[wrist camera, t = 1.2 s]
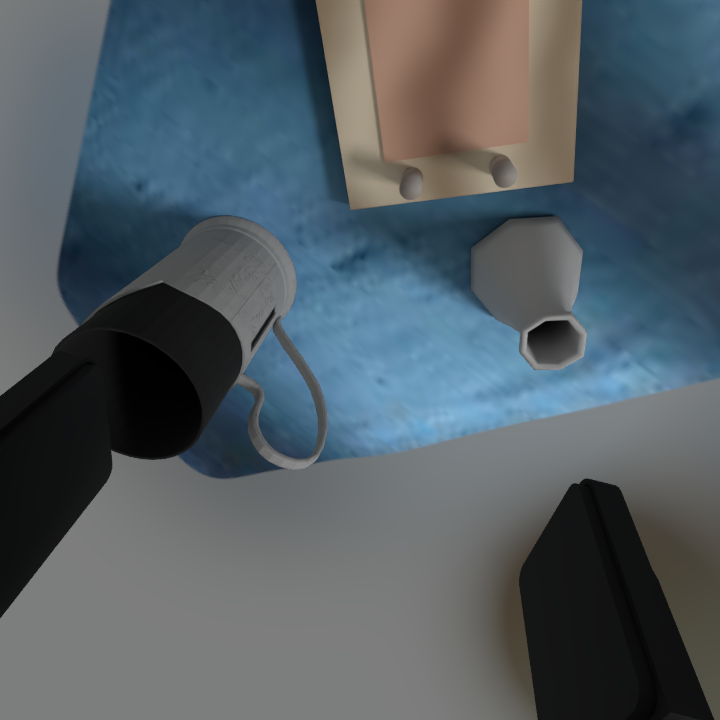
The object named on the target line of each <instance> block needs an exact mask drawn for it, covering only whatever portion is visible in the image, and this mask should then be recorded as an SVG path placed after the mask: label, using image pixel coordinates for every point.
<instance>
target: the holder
mask: <svg viewBox="0 0 720 720" xmlns="http://www.w3.org/2000/svg"><path fill="white" fill-rule="evenodd" d="M296 286H297V281H296V273H295V269H294V266H293V262H292V260H291V258H290V256H289V254H288V252H287V251H286V249H285V248H284V246H283V245H282V244H281V242H280V241H279V240H278V239H277V238H276V237H275V236H274V235H273V234H272V233H270V232H269V231H268V230H266V229H265V228H264V227H262V226H260V225H258V224H257V223H255V222H253V221H250V220H247V219H244V218H240V217H235V216H218V217H213V218H209V219H207V220H204V221H202V222H200V223H199V224H197V225H196V226H194V227H193V228H192V229H191V230H190V231H189V232H188V233H187V234H186V236H185V238H184V239H183V241H182V243H181V245H180V247H178V248H177V249H176V250H174V251H173V252H172V253H170V254H169V255H167V256H166V257H165V258H163V259H162V260H161V261H159V262H158V263H157V264H155V265H154V266H153V267H151V268H150V269H149V270H147V271H146V272H145V273H143V274H142V275H141V276H139V277H138V278H137V279H135V280H134V281H133V282H131V283H130V284H129V285H127V286H126V287H125V288H123V289H122V290H121V291H119V292H118V293H117V294H115V295H114V296H113V297H111V298H110V299H109V300H107V301H106V302H105V303H103V304H102V305H101V306H99V307H98V308H97V309H95V310H94V311H93V312H92V313H91V314H90V316H89V317H88V318H87V319H86V320H85V321H84V322H83V323H82V324H81V325H80V326H79V327H78V328H77V329H76V330H74V331H73V332H72V333H70V334H69V335H68V336H66V337H65V338H64V339H63V340H62V341H61V342H60V343H59V344H58V345H57V346H56V347H55V349H54V351H53V354H55V353H56V352H58V351H61V350H65V351H69V352H73V353H77V354H81V355H85V356H89V357H92V358H94V360H95V361H96V365H97V366H99V367H101V368H102V370H103V375H104V385H105V395H106V405H107V415H108V425H109V435H110V445H111V450H112V451H115V452H117V453H120V454H123V455H126V456H129V457H134V458H139V459H150V460H156V459H166V458H170V457H174V456H177V455H179V454H181V453H183V452H185V451H187V450H188V449H189V448H190V447H192V446H193V445H194V444H195V442H196V441H197V440H198V439H199V437H200V435H201V434H202V432H203V431H204V429H205V427H206V426H207V424H208V423H209V421H210V419H211V418H212V416H213V415H214V413H215V412H216V410H217V408H218V407H219V405H220V404H221V402H222V400H223V399H224V397H225V396H226V394H227V392H229V391H230V390H231V389H232V388H233V387H234V386H235V385H236V383H237V384H238V385H240V386H242V387H244V388H245V389H247V390H248V391H250V392H251V393H252V394H253V396H254V398H255V404H254V406H253V408H252V410H251V412H250V416H249V419H248V433H249V436H250V438H251V441H252V444H253V445H254V446H255V448H256V449H257V451H258V452H259V453H260V454H261V455H262V456H263V457H264V458H265V459H267V460H268V461H269V462H271V463H273V464H275V465H277V466H279V467H283V468H287V469H291V470H292V469H304V468H306V467H307V466H309V465H310V464H312V463H314V462H315V461H316V459H317V458H318V457H319V455H320V453H321V451H322V449H323V447H324V444H325V439H326V434H327V429H328V426H327V410H326V405H325V401H324V397H323V394H322V391H321V388H320V385H319V383H318V381H317V379H316V378H315V376H314V374H313V373H312V371H311V370H310V368H309V367H308V365H307V364H306V362H305V360H304V359H303V357H302V356H301V354H300V353H299V352H298V350H297V349H296V347H295V346H294V345H293V343H292V342H291V340H290V339H289V337H288V336H287V334H286V333H285V331H284V329H283V328H282V326H281V323H280V322H281V320H282V318H284V316H285V315H286V314H287V313H288V311H289V310H290V308H291V306H292V304H293V302H294V298H295V295H296ZM272 326H273V331H274V333H275V335H276V337H277V339H278V340H279V342H280V343H281V345H282V346H283V348H284V349H285V351H286V352H287V354H288V355H289V357H290V358H291V359H292V361H293V362H294V364H295V365H296V367H297V368H298V370H299V371H300V373H301V375H302V376H303V378H304V380H305V382H306V383H307V385H308V387H309V389H310V391H311V394H312V397H313V400H314V403H315V407H316V412H317V416H318V437H317V442H316V447H315V449H314V451H313V453H312V455H311V456H310V457H308V458H304V459H296V458H292V457H288V456H285V455H283V454H281V453H279V452H277V451H276V450H274V449H273V448H272V447H271V446H270V445H269V444H268V443H267V442H266V440H265V439H264V437H263V436H262V434H261V431H260V428H259V426H258V416H259V412H260V409H261V407H262V404H263V401H264V391H263V389H262V387H261V386H260V385H259V384H258V383H257V382H255V381H254V380H253V379H251V378H250V377H248V376H246V375H245V374H243V373H244V371H245V369H246V368H247V366H248V365H249V363H250V361H251V360H252V358H253V356H254V355H255V353H256V352H257V350H258V348H259V347H260V345H261V343H262V342H263V340H264V338H265V337H266V335H267V334H268V332H269V330H270V329H271V327H272ZM53 354H52V355H53ZM52 355H51V356H52Z"/></svg>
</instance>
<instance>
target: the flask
mask: <svg viewBox="0 0 720 720" xmlns="http://www.w3.org/2000/svg"><path fill="white" fill-rule="evenodd" d="M582 255H583V250H582V249H581V247H580V246H579V245H578V243H577V242H576V241H575V239H574V238H573V236H572V235H571V234H570V232H569V231H568V230H567V228H566V227H565V225H564V224H563V223H562V221H561V220H560V219H559V217H558V216H552V217H535V218H519V219H509V220H507V221H506V222H505V223H503V224H502V225H501V226H499V227H498V228H497V229H495V230H494V231H493V232H491V233H490V234H489V235H487V236H486V237H485V238H483V239H482V240H481V241H479V242H478V243H477V244H476V245H474V246H473V247H472V248H471V290H472V292H473V293H474V294H475V295H476V296H477V298H478V299H479V300H480V301H481V302H482V303H483V305H484V306H485V307H486V308H487V309H488V311H489V312H490V313H491V314H492V315H493V317H494V318H495V319H496V320H498V321H500V322H502V323H504V324H506V325H508V326H510V327H512V328H513V329H515V330H517V331H518V332H520V344H519V352H520V354H521V355H522V356H523V357H524V358H525V360H526V361H527V362H528V363H529V364H530V366H531V367H532V368H533V369H534V370H561V369H563V368H564V367H566V366H568V365H570V364H571V363H573V362H575V361H576V360H578V359H580V358H582V357H583V356H584V351H585V344H586V337H587V332H586V330H585V329H584V328H583V327H582V325H581V324H580V323H579V321H578V320H577V319H576V317H575V316H574V315H573V314H572V312H571V309H572V306H573V304H574V302H575V299H576V297H577V294H578V287H579V279H580V271H581V263H582Z"/></svg>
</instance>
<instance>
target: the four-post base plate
mask: <svg viewBox="0 0 720 720" xmlns="http://www.w3.org/2000/svg"><path fill="white" fill-rule="evenodd" d="M316 5H317V11H318V17H319V23H320V29H321V35H322V41H323V47H324V53H325V59H326V65H327V71H328V77H329V83H330V89H331V95H332V101H333V107H334V113H335V119H336V125H337V131H338V137H339V143H340V149H341V155H342V161H343V167H344V174H345V180H346V186H347V192H348V198H349V204H350V210H355V209H363V208H371V207H378V206H386V205H394V204H402V203H410V202H418V201H426V200H433V199H441V198H449V197H457V196H465V195H473V194H481V193H489V192H496V191H504V190H512V189H520V188H528V187H536V186H544V185H551V184H559V183H567V182H573V178H574V157H575V137H576V116H577V96H578V75H579V55H580V34H581V14H582V0H316Z"/></svg>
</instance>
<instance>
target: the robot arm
mask: <svg viewBox="0 0 720 720" xmlns="http://www.w3.org/2000/svg"><path fill="white" fill-rule="evenodd" d="M111 470H112V455H111V445H110V435H109V425H108V415H107V405H106V395H105V385H104V375H103V370H102V368H101V367H99V366H97V365H96V361H95V360H94V358H92V357H89V356H85V355H81V354H77V353H73V352H69V351H65V350H61V351H58V352H56V353H55V354H53V355H52V356H51V357H49V358H48V359H47V360H46V361H44V362H43V363H42V364H41V365H39V366H38V367H37V368H35V369H34V370H33V371H32V372H30V373H29V374H28V375H27V376H25V377H24V378H23V379H21V380H20V381H19V382H18V383H16V384H15V385H14V386H12V387H11V388H10V389H9V390H7V391H6V392H5V393H4V394H2V395H1V396H0V618H1V617H2V615H3V614H4V613H5V611H6V610H7V609H8V608H9V606H10V605H11V604H12V603H13V601H14V600H15V599H16V597H17V596H18V595H19V594H20V592H21V591H22V590H23V588H24V587H25V586H26V585H27V583H28V582H29V581H30V579H31V578H32V577H33V576H34V574H35V573H36V572H37V570H38V569H39V568H40V567H41V565H42V564H43V563H44V561H45V560H46V559H47V557H48V556H49V555H50V554H51V552H52V551H53V550H54V548H55V547H56V546H57V545H58V544H59V542H60V541H61V540H62V538H63V537H64V536H65V535H66V533H67V532H68V531H69V529H70V528H71V527H72V525H73V524H74V523H75V522H76V520H77V519H78V518H79V516H80V515H81V514H82V513H83V511H84V510H85V509H86V507H87V506H88V505H89V504H90V502H91V501H92V500H93V499H94V497H95V496H96V495H97V493H98V492H99V491H100V490H101V488H102V487H103V486H104V484H105V483H106V482H107V480H108V478H109V476H110V474H111ZM519 587H520V594H521V601H522V608H523V615H524V623H525V630H526V636H527V644H528V651H529V659H530V666H531V673H532V680H533V688H534V695H535V702H536V710H537V717H538V720H714V718H713V716H712V713H711V711H710V708H709V706H708V703H707V701H706V698H705V696H704V693H703V691H702V688H701V686H700V683H699V681H698V678H697V676H696V673H695V671H694V668H693V666H692V663H691V661H690V658H689V656H688V653H687V651H686V648H685V646H684V643H683V641H682V638H681V636H680V633H679V631H678V628H677V626H676V623H675V621H674V618H673V616H672V613H671V611H670V608H669V606H668V603H667V601H666V598H665V596H664V593H663V591H662V588H661V586H660V583H659V581H658V579H657V577H656V575H655V573H654V571H653V570H652V568H651V566H650V563H649V560H648V558H647V555H646V553H645V550H644V547H643V545H642V542H641V540H640V537H639V535H638V532H637V530H636V527H635V525H634V522H633V520H632V517H631V515H630V512H629V510H628V507H627V505H626V502H625V500H624V497H623V495H622V492H621V490H620V489H619V487H617V486H616V485H611V484H608V483H604V482H599V481H596V480H591V479H584V480H582V481H581V482H580V484H575V483H574V484H572V485H571V486H570V487H569V489H568V491H567V492H566V494H565V496H564V497H563V499H562V501H561V502H560V504H559V506H558V507H557V509H556V511H555V512H554V514H553V516H552V518H551V519H550V521H549V522H548V524H547V526H546V527H545V529H544V531H543V532H542V534H541V536H540V538H539V539H538V541H537V543H536V544H535V546H534V547H533V549H532V551H531V552H530V554H529V556H528V557H527V559H526V561H525V563H524V564H523V566H522V568H521V572H520V577H519Z"/></svg>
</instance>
